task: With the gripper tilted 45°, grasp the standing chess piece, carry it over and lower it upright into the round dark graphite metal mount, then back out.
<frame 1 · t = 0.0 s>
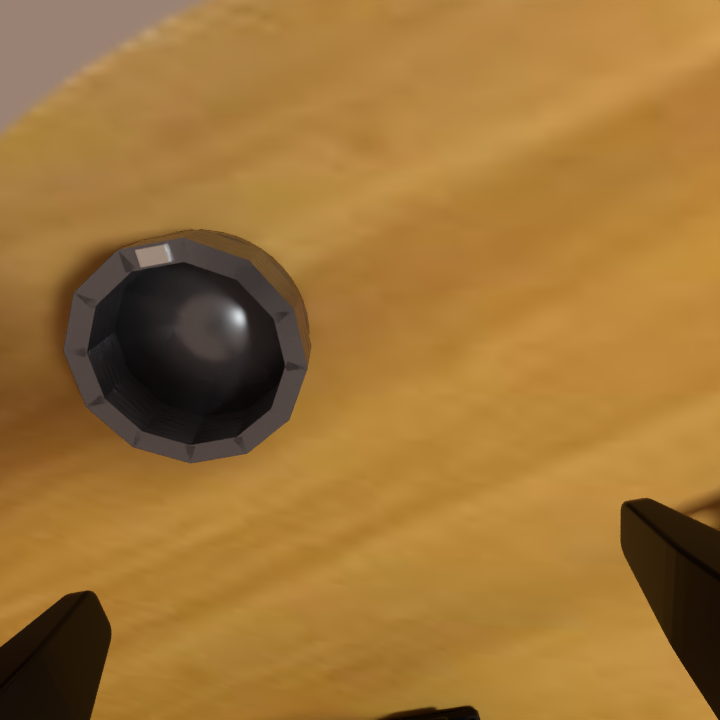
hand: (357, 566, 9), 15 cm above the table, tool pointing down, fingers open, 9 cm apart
mount: (209, 331, 22), on the table
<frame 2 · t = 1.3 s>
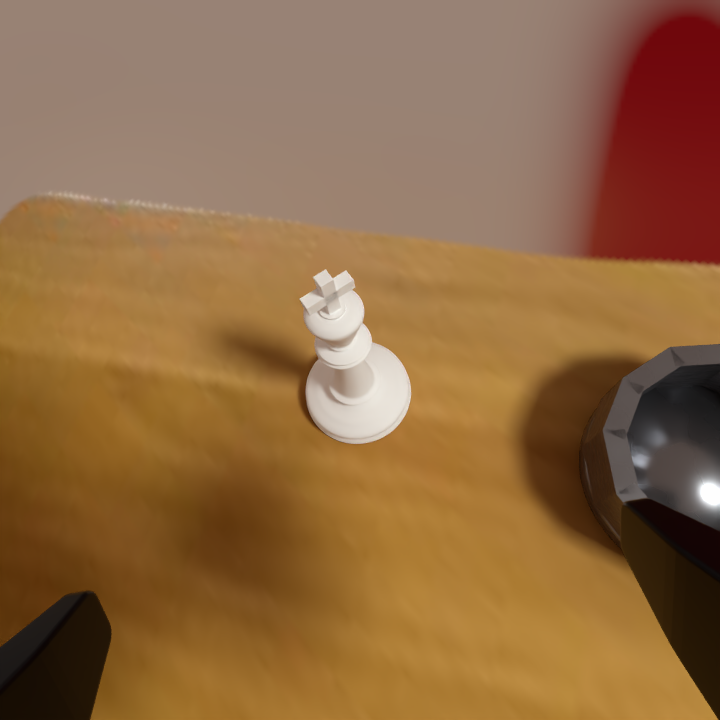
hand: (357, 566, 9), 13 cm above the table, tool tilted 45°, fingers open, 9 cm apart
mount: (687, 474, 21), on the table
chess piece: (358, 394, 24), on the table
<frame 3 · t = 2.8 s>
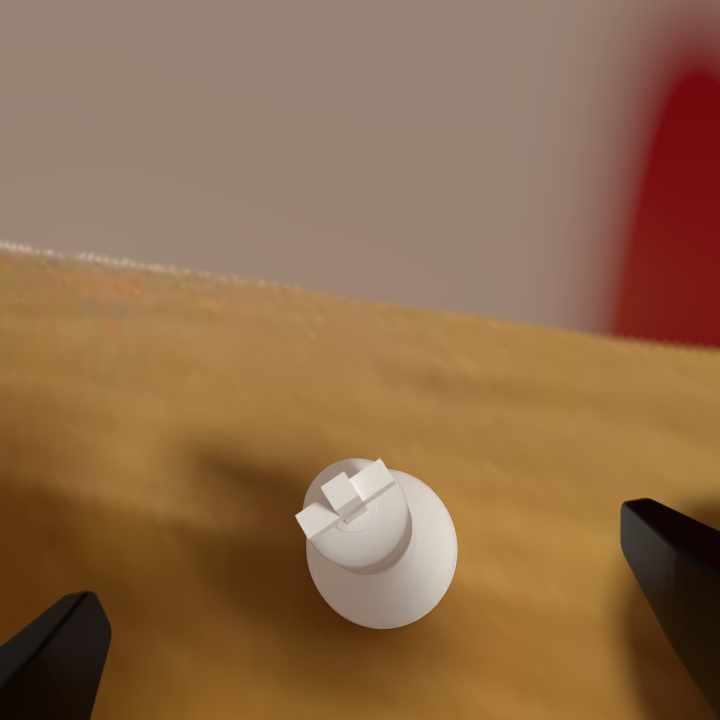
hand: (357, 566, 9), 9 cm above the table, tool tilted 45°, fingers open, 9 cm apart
chess piece: (381, 545, 17), on the table
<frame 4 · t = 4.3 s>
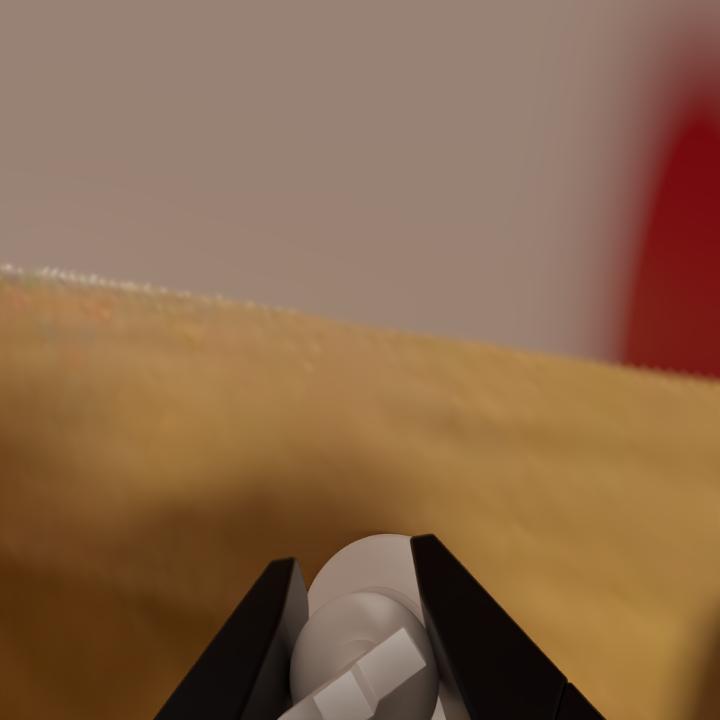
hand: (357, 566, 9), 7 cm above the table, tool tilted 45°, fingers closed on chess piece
chess piece: (390, 628, 14), on the table, touching gripper
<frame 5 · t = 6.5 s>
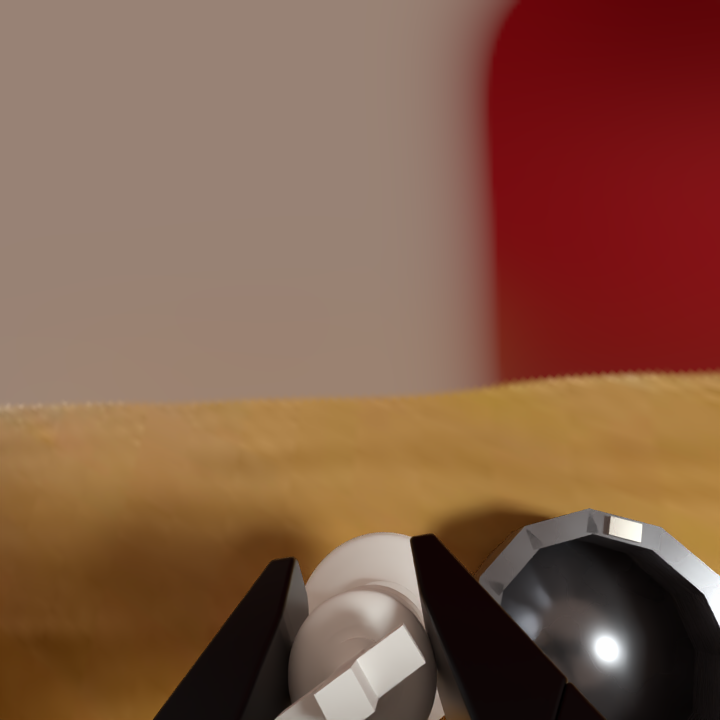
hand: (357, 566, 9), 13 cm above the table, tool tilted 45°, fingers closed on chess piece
mount: (578, 643, 19), on the table
chess piece: (385, 626, 14), point 6 cm above the table, touching gripper
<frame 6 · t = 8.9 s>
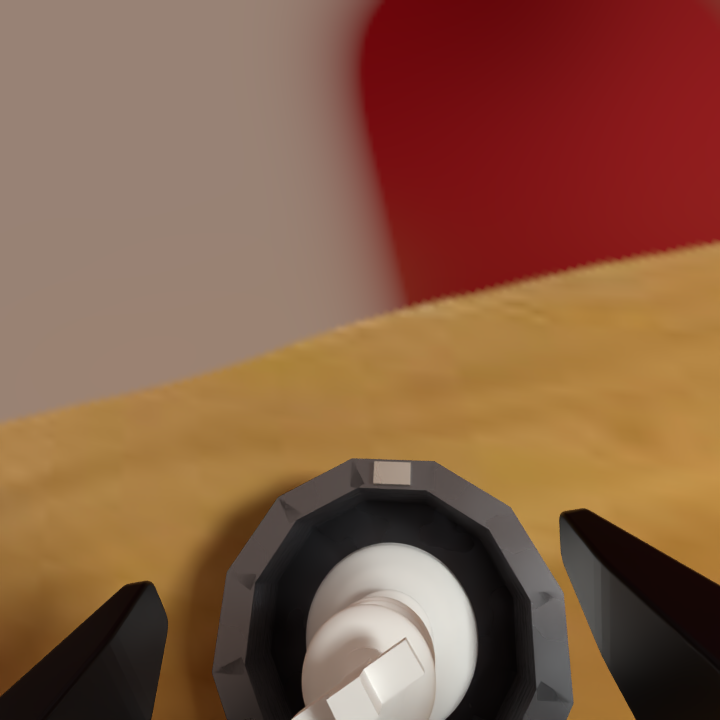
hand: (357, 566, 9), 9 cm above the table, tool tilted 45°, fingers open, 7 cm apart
mount: (393, 623, 16), on the table
chess piece: (391, 632, 15), point 1 cm above the table, touching mount
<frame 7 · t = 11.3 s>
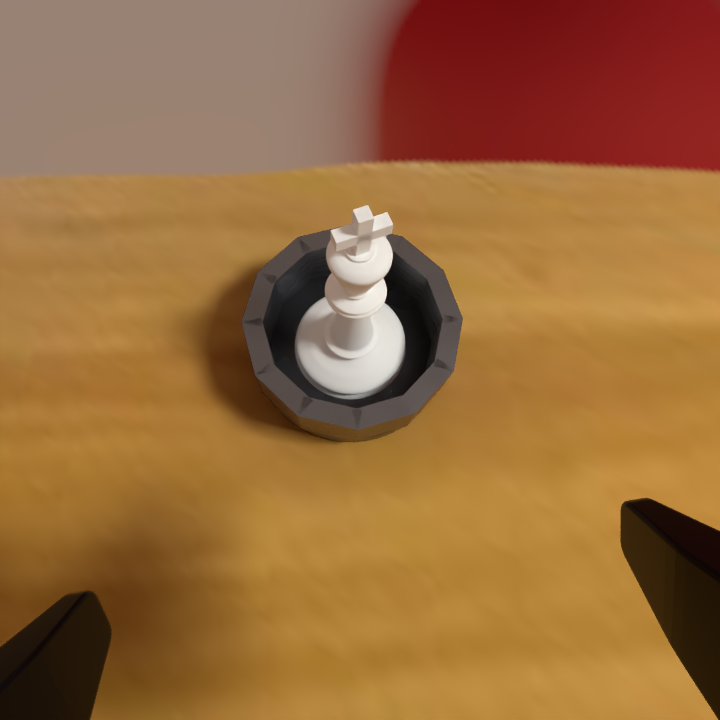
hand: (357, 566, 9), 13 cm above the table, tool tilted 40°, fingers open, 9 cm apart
mount: (350, 349, 24), on the table
chess piece: (350, 347, 23), point 1 cm above the table, touching mount
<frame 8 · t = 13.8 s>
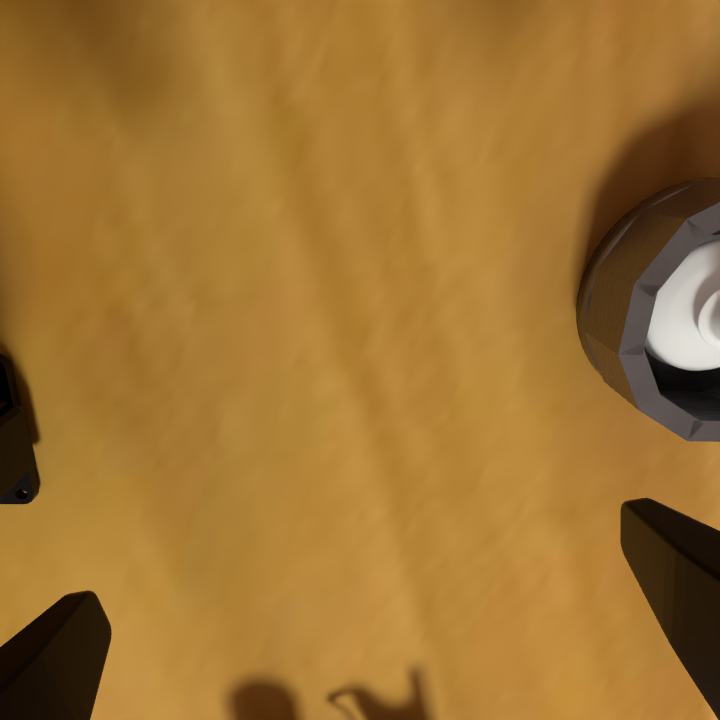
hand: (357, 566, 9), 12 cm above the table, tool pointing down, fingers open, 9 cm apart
mount: (688, 297, 20), on the table
chess piece: (697, 302, 19), point 1 cm above the table, touching mount
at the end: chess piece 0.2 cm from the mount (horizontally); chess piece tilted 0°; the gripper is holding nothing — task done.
